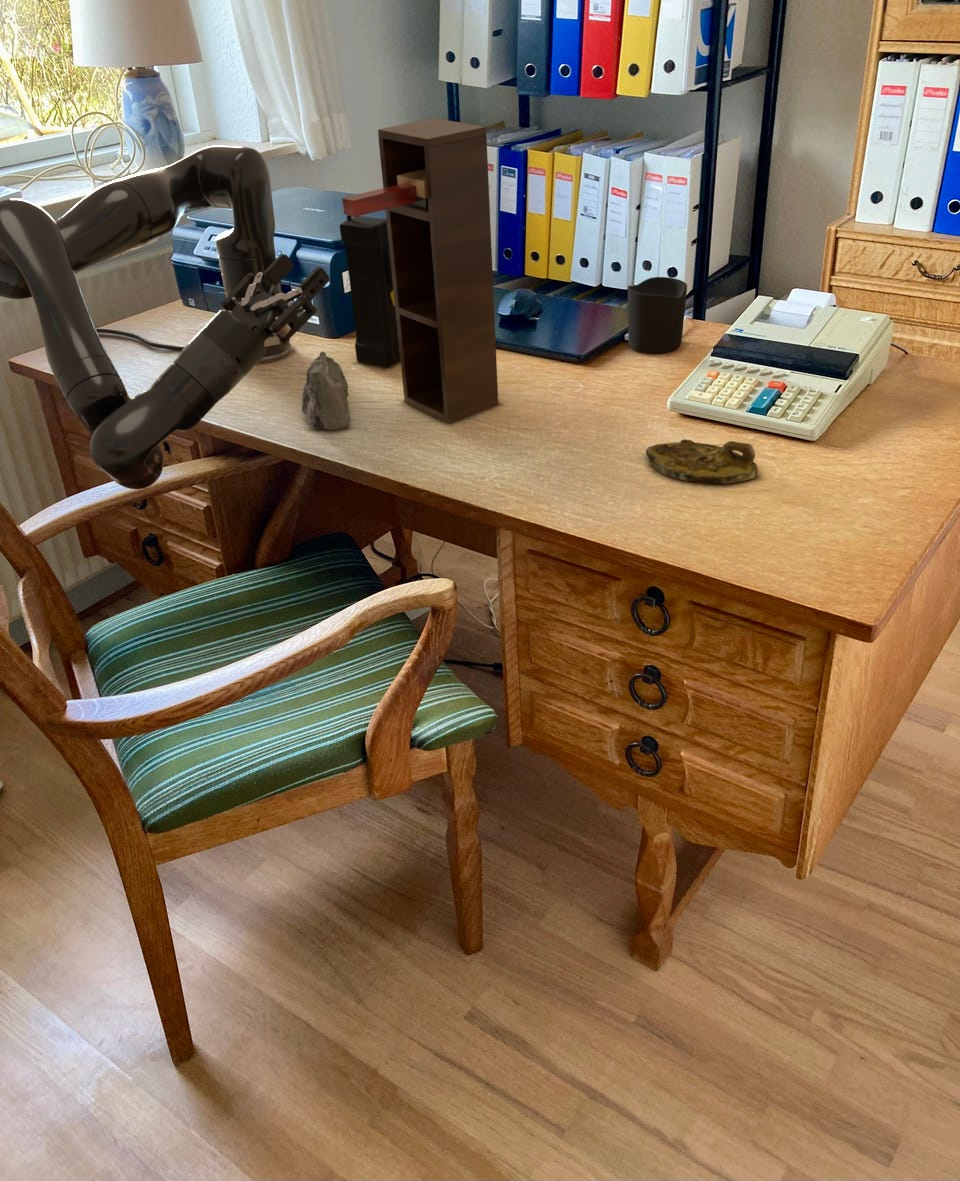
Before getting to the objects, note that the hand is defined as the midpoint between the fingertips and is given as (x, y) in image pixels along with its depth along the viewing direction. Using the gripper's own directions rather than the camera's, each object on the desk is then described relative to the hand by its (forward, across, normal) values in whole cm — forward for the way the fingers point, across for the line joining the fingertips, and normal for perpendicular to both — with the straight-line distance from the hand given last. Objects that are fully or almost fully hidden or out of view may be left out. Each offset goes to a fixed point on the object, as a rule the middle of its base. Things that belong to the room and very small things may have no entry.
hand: (306, 265), depth 130 cm
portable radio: (+8, -22, -35) cm, 42 cm away
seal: (+14, +40, -38) cm, 57 cm away
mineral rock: (-7, -10, -26) cm, 29 cm away
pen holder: (+38, +6, -52) cm, 65 cm away
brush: (+16, 0, -5) cm, 16 cm away
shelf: (+6, 0, -33) cm, 33 cm away
